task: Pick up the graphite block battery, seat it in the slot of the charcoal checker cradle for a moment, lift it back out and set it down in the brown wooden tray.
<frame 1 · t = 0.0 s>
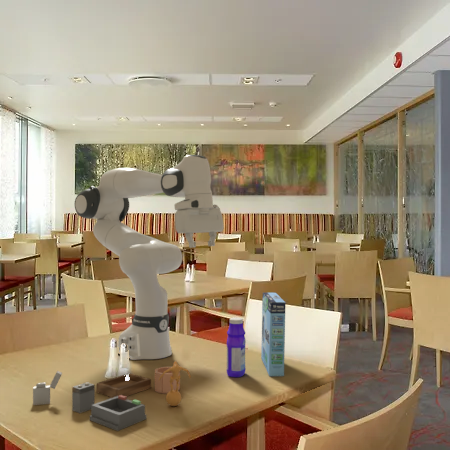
hand: (202, 246, 169), 39 cm above the table, tool pointing down, fingers open, 8 cm apart
lighter: (47, 403, 137), on the table
pink octagonal pot: (167, 389, 148), on the table
bottle: (236, 375, 162), on the table
brown wooden tray: (124, 390, 147), on the table
checker cradle: (118, 419, 126), on the table
battery: (83, 409, 133), on the table
gum box: (272, 368, 170), on the table
figurine: (174, 407, 134), on the table
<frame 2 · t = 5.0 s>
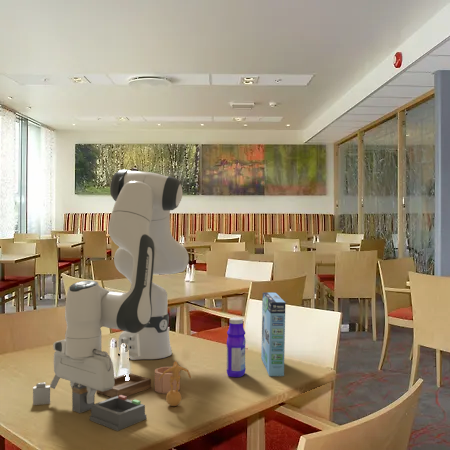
hand: (83, 400, 133), 2 cm above the table, tool pointing down, fingers closed on battery, 3 cm apart
battery: (83, 409, 133), on the table, touching gripper
everything else where it was.
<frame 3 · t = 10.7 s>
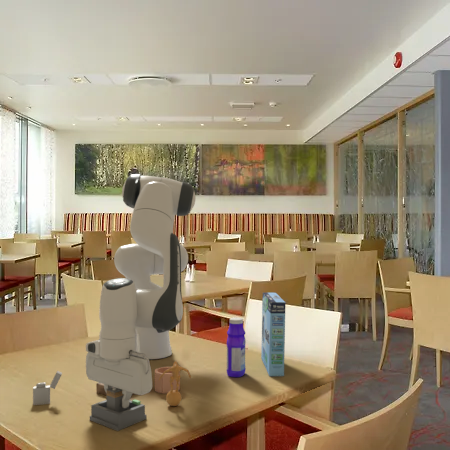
hand: (118, 404, 126), 4 cm above the table, tool pointing down, fingers closed on battery, 3 cm apart
battery: (118, 413, 126), point 1 cm above the table, touching gripper
everything else where it was.
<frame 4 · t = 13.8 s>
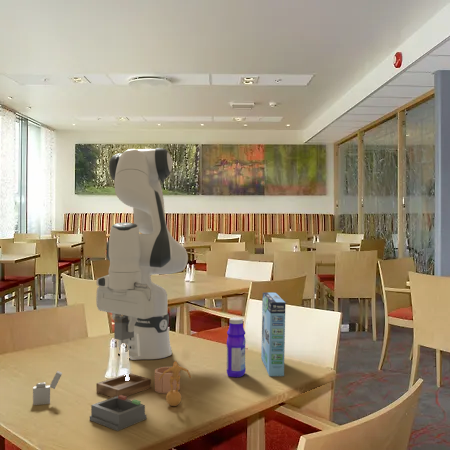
hand: (124, 330, 147), 17 cm above the table, tool pointing down, fingers closed on battery, 3 cm apart
battery: (124, 337, 147), point 15 cm above the table, touching gripper
everything else where it was.
when the fingers open (4 cm above the table, at t = 16.6 s): battery drops 1 cm, resting on brown wooden tray.
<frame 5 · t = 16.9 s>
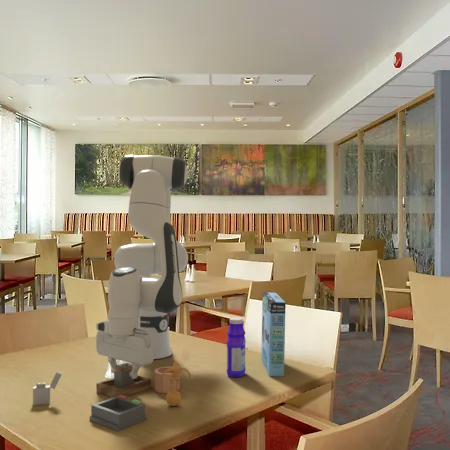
hand: (124, 375, 147), 4 cm above the table, tool pointing down, fingers open, 6 cm apart
battery: (123, 386, 147), point 1 cm above the table, touching brown wooden tray
everything else where it was.
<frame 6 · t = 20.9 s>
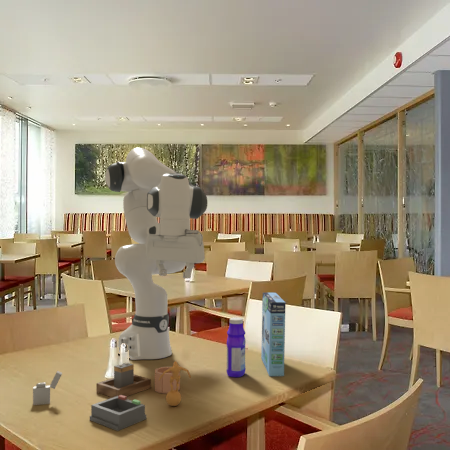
hand: (174, 276, 152), 31 cm above the table, tool pointing down, fingers open, 8 cm apart
nothing on the table moved.
at the end: battery inside the target area on the brown wooden tray (0.1 cm from its centre), point 1.0 cm above the brown wooden tray's base; the gripper is holding nothing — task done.
